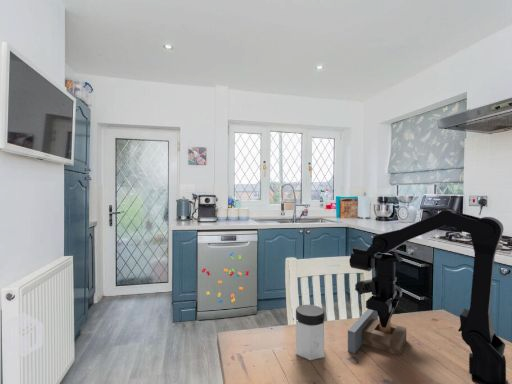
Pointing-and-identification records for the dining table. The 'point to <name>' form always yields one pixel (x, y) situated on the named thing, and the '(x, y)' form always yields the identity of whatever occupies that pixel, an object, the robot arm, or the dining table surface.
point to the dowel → (388, 327)
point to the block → (385, 337)
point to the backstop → (359, 330)
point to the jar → (310, 331)
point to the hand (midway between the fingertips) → (385, 325)
